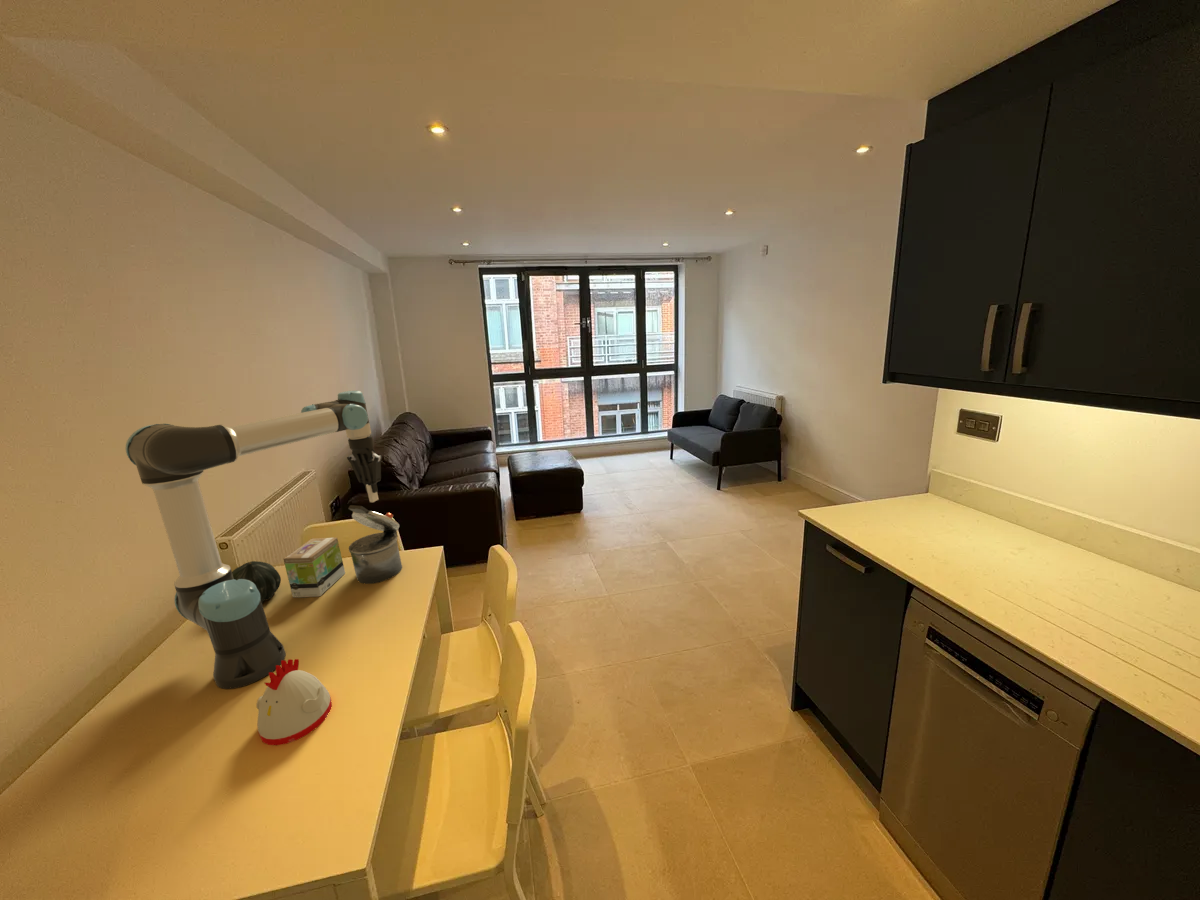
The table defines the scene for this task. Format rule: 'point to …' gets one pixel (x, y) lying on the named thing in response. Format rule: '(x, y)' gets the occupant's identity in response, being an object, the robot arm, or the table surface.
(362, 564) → the pot
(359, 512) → the lid
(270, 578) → the squash
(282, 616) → the table surface
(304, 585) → the tea box
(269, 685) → the kitchen timer
